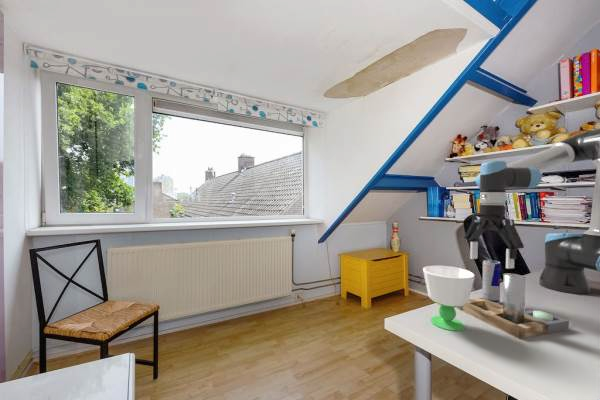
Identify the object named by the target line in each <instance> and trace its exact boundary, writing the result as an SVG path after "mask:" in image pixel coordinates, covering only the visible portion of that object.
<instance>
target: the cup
mask: <svg viewBox="0 0 600 400" xmlns="http://www.w3.org/2000/svg"><path fill="white" fill-rule="evenodd" d="M422 271H423V276H424V282H425V286H426V290H427V296H428V297H429V299H430V300H431V301H433V302H434V303H435V304H437V305H440V306H439V308H438V313H439V315H435V316H432V317H431V318H430V322H431V323H432V325H434V326H435V327H438V328H440V329H443V330H447V331H451V332H459V331H463V330H464V329H465V328H466V327H465V324H464V323H463V322H462V321H460V320H458V319H456V317H457V312H456V309H455V308H457V307H461V306H464V305H465V304H466V303H467V302H468V301H469V299H470V296H471V293H472V288H473V286H474V281H475V277H476V275H475V274H474V273H473V272H471V271H470V270H469V269H464V268H461V267H456V266H450V265H449V266H448V265H428V266H424V267H423V268H422Z"/></svg>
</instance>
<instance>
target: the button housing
mask: <svg viewBox="0 0 600 400" xmlns="http://www.w3.org/2000/svg"><path fill="white" fill-rule="evenodd" d="M533 311H542V312H544V310H541V309H531V310H525V315H527V316H529V317H532V318H534V319H537V320H539V321H542V322H544V323H547V324H549V333H548V334H552V333H556V332H561V331H562V332H563V331H568V330H569V327H570V322H569V320H568V319H564V318H562V317H560V316H557V315H553V314H551V313H550V314H551V315H552V316H553V321H547V322H546V321H544V320H541V319H539V318H536V317H534V316H533Z"/></svg>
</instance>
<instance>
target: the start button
mask: <svg viewBox="0 0 600 400" xmlns="http://www.w3.org/2000/svg"><path fill="white" fill-rule="evenodd" d="M542 311H543V310H541V311H533V316H534V317H536V318H539V319H541V320H544V321H546V322H547V321H553V316H552V315H553V314H552V315H551V313H549V312H545V311H543V312H542Z"/></svg>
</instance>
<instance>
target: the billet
mask: <svg viewBox="0 0 600 400" xmlns="http://www.w3.org/2000/svg"><path fill="white" fill-rule="evenodd" d="M502 276H503V277H502V278H503V279H502V280H503V281H502V286H503V288H502V289H503V290H502V293H503V294H502V306H503V319H506V320H508V321H510V322H512V323H515V324H523V323H525V311H526V309H525V308H526V307H525V306H526V303H525V302H526V276H524V275H520V274H517V273H511V272H510V273H503V274H502Z"/></svg>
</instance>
